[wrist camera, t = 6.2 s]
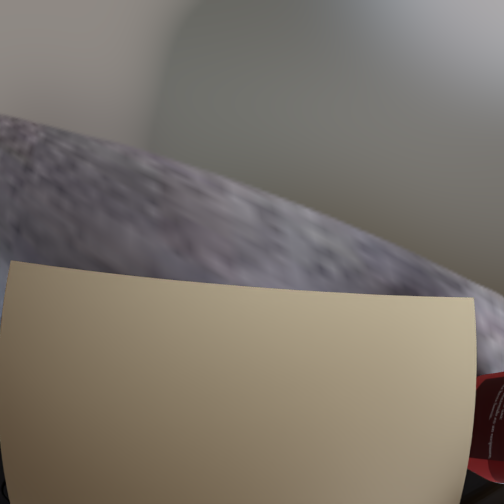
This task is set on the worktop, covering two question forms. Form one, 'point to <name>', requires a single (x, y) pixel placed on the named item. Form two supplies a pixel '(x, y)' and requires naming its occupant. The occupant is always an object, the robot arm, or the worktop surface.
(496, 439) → the canned food
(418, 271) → the worktop surface
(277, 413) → the block
